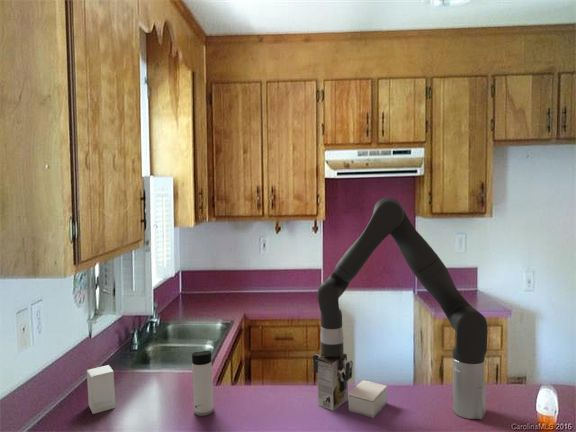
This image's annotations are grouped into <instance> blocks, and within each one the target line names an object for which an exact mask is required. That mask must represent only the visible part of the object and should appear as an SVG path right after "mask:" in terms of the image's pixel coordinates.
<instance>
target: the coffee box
mask: <svg viewBox="0 0 576 432" xmlns="http://www.w3.org/2000/svg"><path fill="white" fill-rule="evenodd" d="M343 357H344V360H346V361H348V354H347V353H343ZM343 368H344V370H345V371H346V368H345V365H344V364H343V365H341V367H339V359H336V358H333V357H326V356H324V355H322V356H320V357H319V358H317V370H318V373H317V395H318V396H317V403H318V406H319V407H321V408H324V409H325V408H326V409H328V410H330V411H332V412H333V411H334V412H335V410H336V409H338V408H339V407H340V406H342V405H343V404H344V403H346V402H348V401H349V399H348V396H349V395H348V393H349V387H348V386H349V385H348V381H349V380H348V381H346V389H345V390H344V391H343V392H340V381H341V380H340V378H339V374H338V370H339V371H341V370H342V369H343Z"/></svg>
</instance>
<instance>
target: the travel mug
mask: <svg viewBox="0 0 576 432" xmlns="http://www.w3.org/2000/svg"><path fill="white" fill-rule="evenodd" d="M212 362H213V361H212V352H211V351H210V350H203V351H195V352H193V353H191V366H192V390H193V391H192V392H193V394H192V395H193V413H194V415H196V416H199V417H203V416H205V417H206V416H208V415H211V414H212V413H213V412H214V387H213V386H214V385H213V382H214V381H213V363H212Z"/></svg>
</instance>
